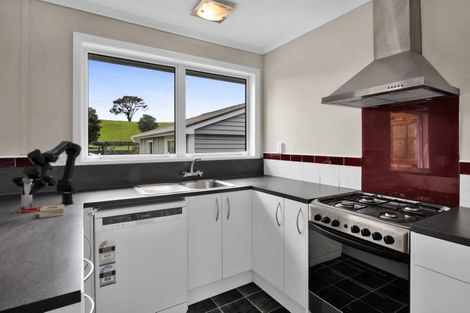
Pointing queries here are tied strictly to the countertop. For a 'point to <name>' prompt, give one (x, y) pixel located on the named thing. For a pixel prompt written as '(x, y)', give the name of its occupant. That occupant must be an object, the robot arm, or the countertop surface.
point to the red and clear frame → (23, 209)
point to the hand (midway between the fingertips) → (26, 194)
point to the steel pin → (27, 190)
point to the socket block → (51, 211)
